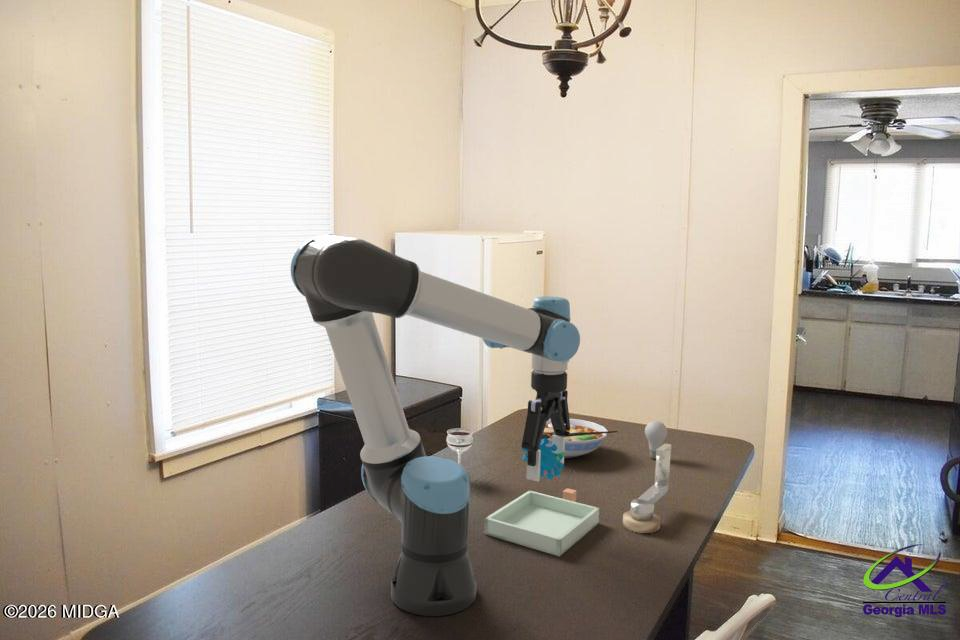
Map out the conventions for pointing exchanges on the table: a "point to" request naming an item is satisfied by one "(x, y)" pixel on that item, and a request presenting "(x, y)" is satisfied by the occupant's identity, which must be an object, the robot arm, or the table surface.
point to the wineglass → (459, 440)
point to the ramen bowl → (578, 437)
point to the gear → (548, 459)
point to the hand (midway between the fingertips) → (545, 472)
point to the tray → (542, 522)
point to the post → (569, 495)
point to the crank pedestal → (641, 524)
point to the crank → (653, 487)
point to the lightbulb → (655, 436)
